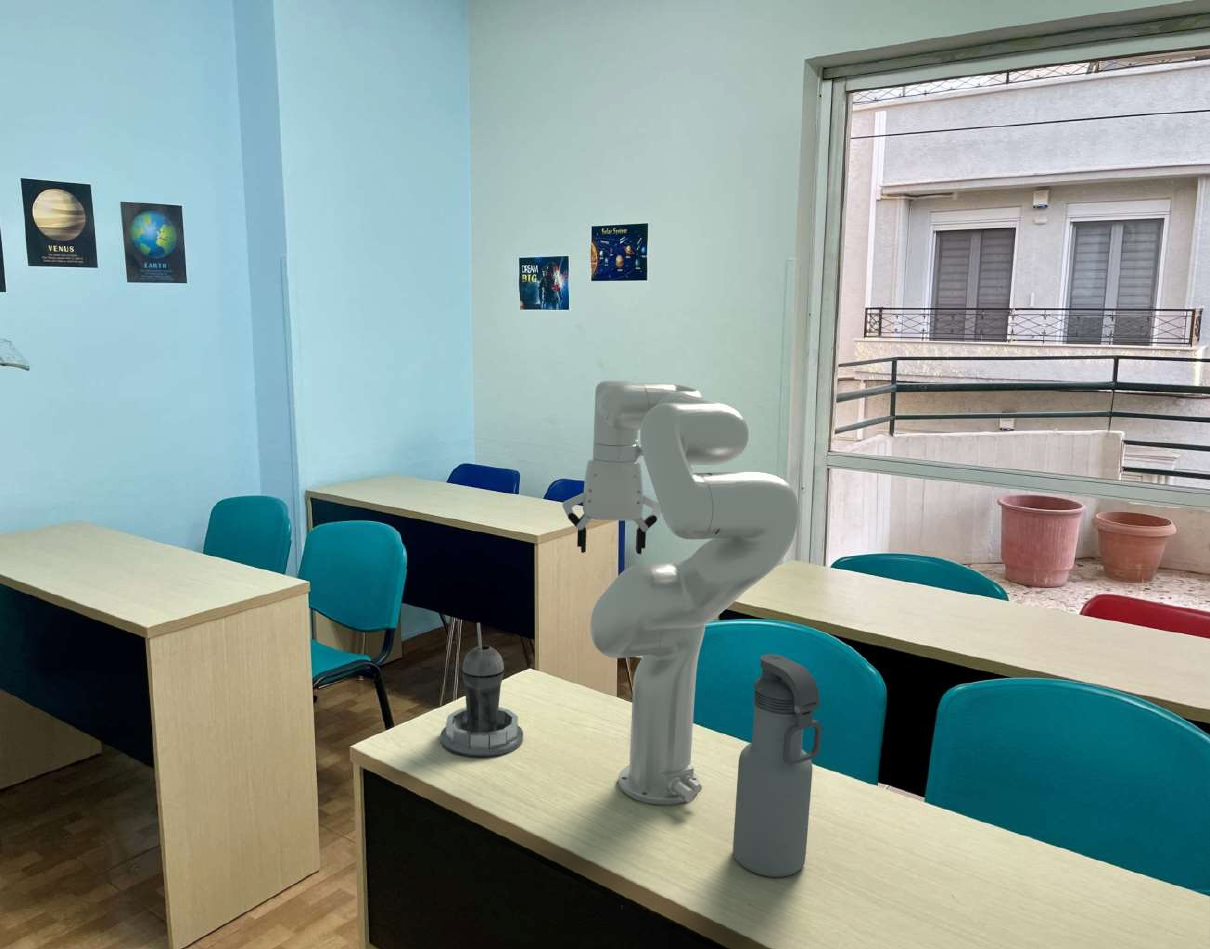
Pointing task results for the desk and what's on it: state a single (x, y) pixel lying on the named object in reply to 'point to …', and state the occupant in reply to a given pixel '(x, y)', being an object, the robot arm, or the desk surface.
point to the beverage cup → (482, 686)
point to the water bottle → (777, 771)
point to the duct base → (481, 752)
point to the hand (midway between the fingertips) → (610, 551)
